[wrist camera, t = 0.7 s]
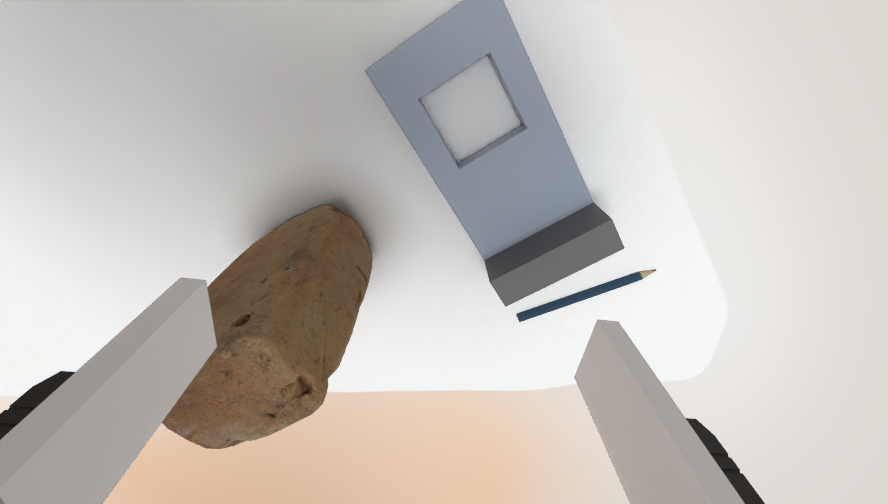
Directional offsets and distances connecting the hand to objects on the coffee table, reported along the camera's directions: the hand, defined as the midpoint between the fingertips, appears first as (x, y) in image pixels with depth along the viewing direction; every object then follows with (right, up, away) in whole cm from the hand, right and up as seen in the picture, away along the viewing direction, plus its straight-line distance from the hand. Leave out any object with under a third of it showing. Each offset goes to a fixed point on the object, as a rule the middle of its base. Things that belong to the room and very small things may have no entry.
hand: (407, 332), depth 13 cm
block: (-11, +3, +24) cm, 27 cm away
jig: (+6, +12, +21) cm, 24 cm away
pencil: (+16, -1, +28) cm, 32 cm away
